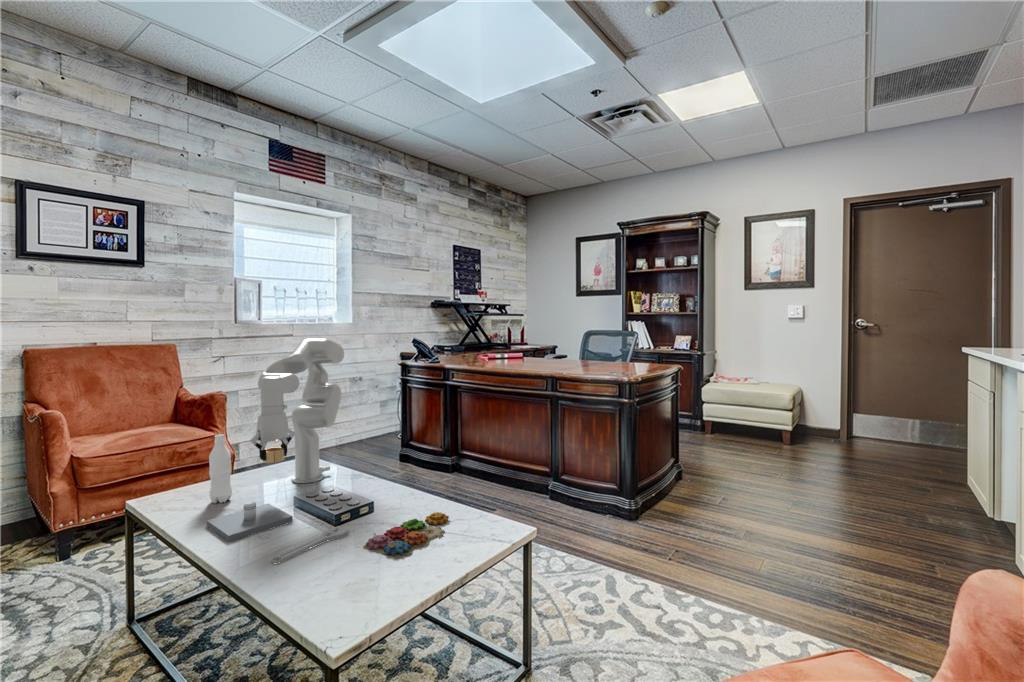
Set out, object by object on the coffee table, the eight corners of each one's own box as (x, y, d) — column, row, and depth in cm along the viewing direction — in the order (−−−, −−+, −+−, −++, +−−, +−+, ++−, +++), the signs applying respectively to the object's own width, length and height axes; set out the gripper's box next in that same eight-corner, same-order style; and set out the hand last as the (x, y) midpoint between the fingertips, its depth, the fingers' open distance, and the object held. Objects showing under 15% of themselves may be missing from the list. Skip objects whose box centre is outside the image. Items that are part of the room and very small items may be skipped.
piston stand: (268, 508, 181) (267, 489, 181) (292, 521, 169) (292, 501, 169) (206, 526, 166) (206, 505, 165) (228, 542, 154) (228, 519, 154)
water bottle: (211, 499, 190) (209, 433, 189) (232, 496, 193) (231, 432, 192) (208, 506, 184) (207, 438, 182) (231, 503, 187) (229, 436, 185)
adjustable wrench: (275, 567, 140) (275, 561, 140) (263, 560, 144) (263, 554, 144) (351, 534, 160) (351, 529, 160) (338, 530, 164) (338, 524, 164)
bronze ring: (278, 456, 191) (278, 446, 191) (287, 459, 187) (287, 449, 186) (260, 460, 186) (260, 449, 186) (268, 464, 181) (268, 453, 181)
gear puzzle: (428, 514, 177) (428, 503, 177) (465, 524, 169) (465, 512, 169) (360, 549, 151) (360, 536, 151) (400, 562, 142) (400, 548, 142)
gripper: (290, 405, 194) (291, 450, 195) (243, 412, 181) (244, 461, 182) (300, 407, 189) (301, 454, 190) (252, 414, 176) (253, 465, 177)
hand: (273, 457), depth 186 cm, fingers closed on bronze ring, 6 cm apart
